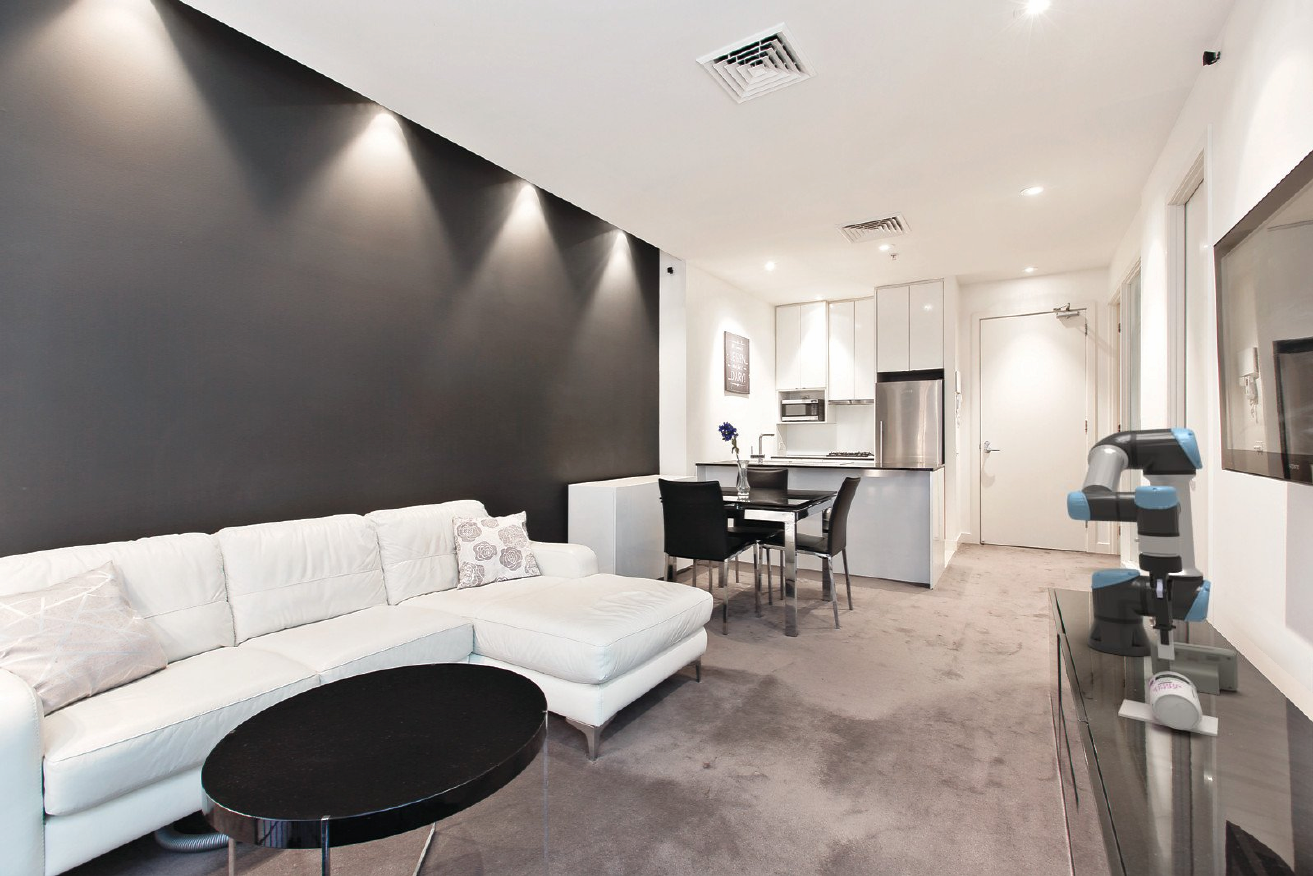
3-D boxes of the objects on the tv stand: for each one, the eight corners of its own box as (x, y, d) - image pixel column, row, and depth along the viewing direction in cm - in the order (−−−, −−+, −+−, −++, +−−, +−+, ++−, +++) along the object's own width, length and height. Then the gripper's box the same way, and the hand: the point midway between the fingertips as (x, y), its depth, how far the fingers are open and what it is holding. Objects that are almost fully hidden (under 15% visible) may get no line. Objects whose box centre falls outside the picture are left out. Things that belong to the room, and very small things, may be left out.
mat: (1124, 702, 139) (1124, 699, 139) (1218, 721, 128) (1218, 718, 128) (1118, 715, 132) (1118, 713, 132) (1217, 737, 121) (1217, 734, 121)
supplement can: (1177, 715, 134) (1181, 741, 122) (1139, 685, 138) (1140, 707, 126) (1207, 692, 131) (1214, 716, 119) (1168, 662, 135) (1171, 682, 123)
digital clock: (1242, 691, 144) (1239, 646, 144) (1235, 701, 138) (1232, 655, 138) (1156, 674, 156) (1154, 633, 157) (1147, 682, 151) (1144, 640, 151)
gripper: (1141, 548, 143) (1148, 647, 143) (1135, 556, 134) (1142, 662, 133) (1183, 551, 138) (1190, 654, 137) (1179, 559, 129) (1186, 669, 128)
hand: (1166, 658), depth 135 cm, fingers closed
